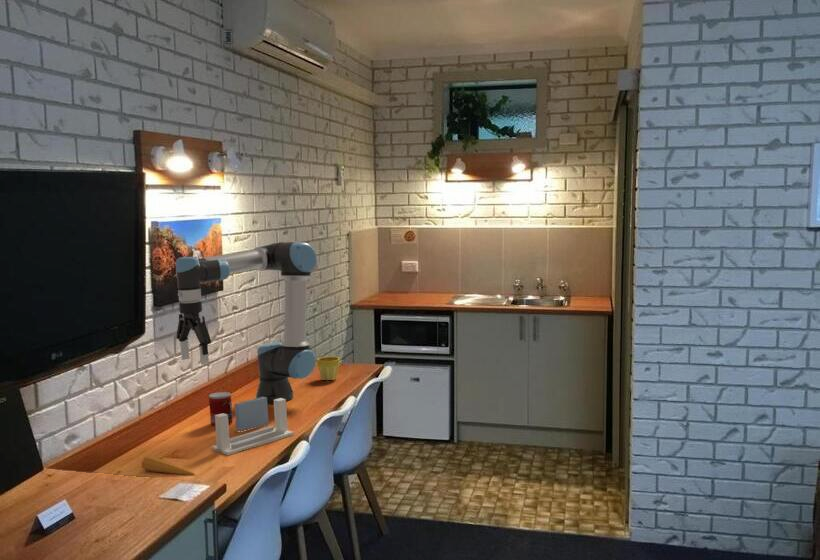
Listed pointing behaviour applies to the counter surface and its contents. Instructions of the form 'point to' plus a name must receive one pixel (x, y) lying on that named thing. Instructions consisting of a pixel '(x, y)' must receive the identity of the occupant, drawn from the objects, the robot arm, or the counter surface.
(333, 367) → the plant pot
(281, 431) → the panel stand
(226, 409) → the canned food
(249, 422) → the door panel
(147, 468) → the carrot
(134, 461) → the counter surface
